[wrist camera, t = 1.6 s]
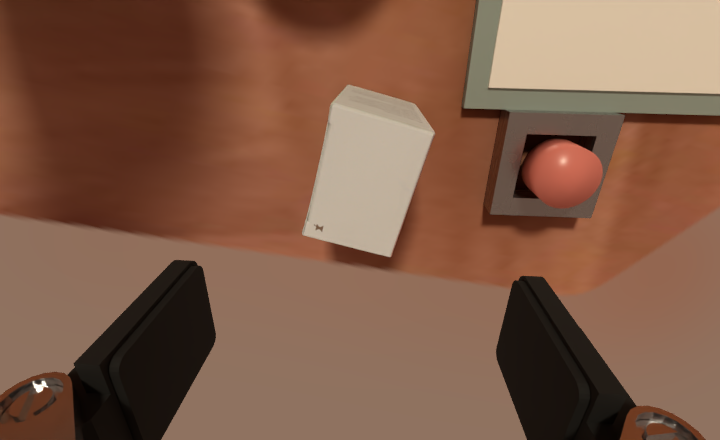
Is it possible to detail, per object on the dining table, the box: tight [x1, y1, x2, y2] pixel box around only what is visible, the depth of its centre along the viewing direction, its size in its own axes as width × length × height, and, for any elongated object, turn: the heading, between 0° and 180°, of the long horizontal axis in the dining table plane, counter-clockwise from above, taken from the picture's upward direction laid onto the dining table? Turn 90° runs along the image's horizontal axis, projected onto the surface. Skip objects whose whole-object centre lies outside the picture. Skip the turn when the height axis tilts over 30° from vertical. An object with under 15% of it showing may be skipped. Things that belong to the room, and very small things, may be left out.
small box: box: [302, 85, 435, 257], centre depth 24 cm, size 8×6×10 cm
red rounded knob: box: [521, 138, 603, 208], centre depth 26 cm, size 4×4×3 cm
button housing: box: [483, 109, 625, 218], centre depth 28 cm, size 8×8×2 cm
